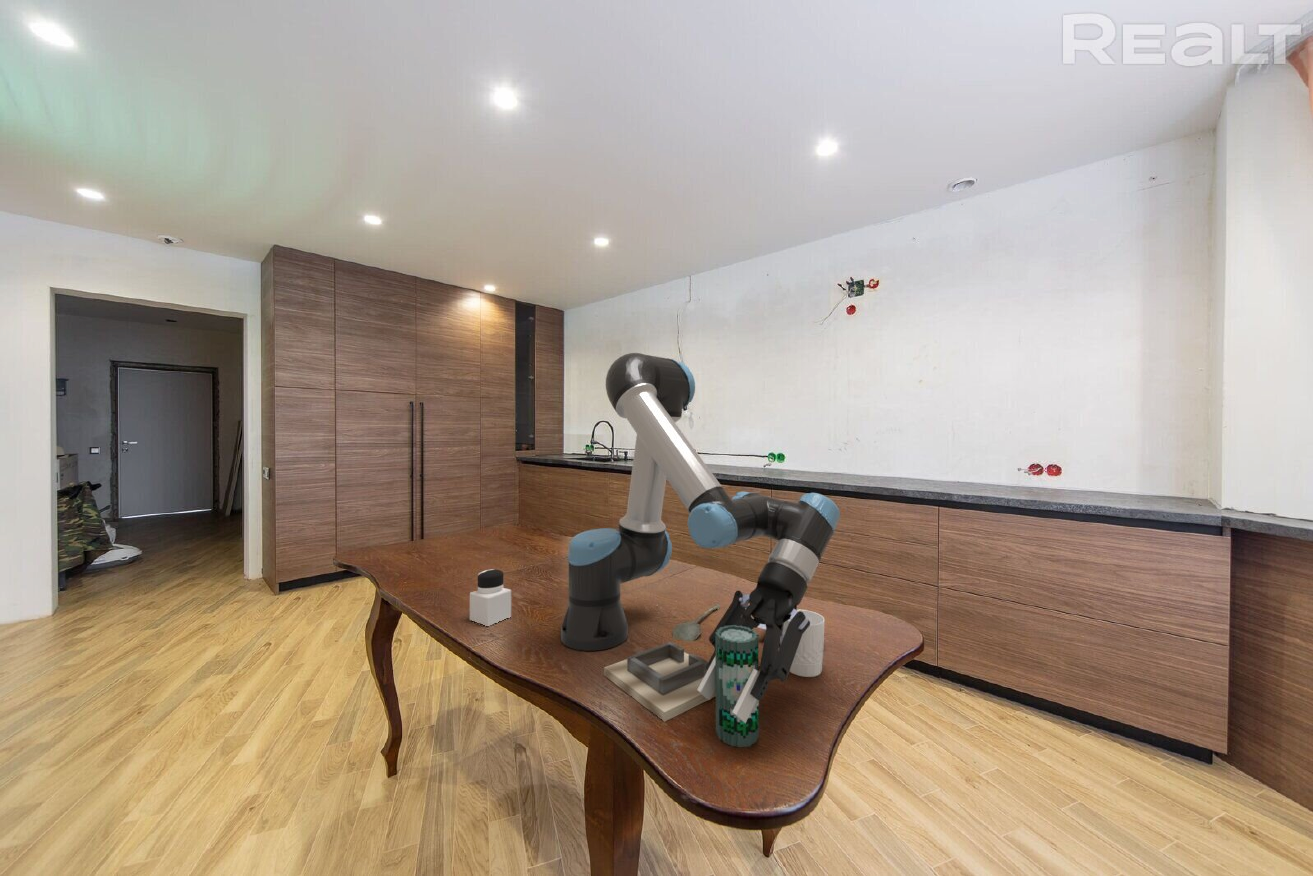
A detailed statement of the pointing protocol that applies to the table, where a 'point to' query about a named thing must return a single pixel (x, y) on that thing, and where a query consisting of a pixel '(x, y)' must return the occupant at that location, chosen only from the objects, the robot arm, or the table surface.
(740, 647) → the can
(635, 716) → the table surface
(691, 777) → the table surface
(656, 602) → the table surface
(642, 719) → the table surface
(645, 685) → the board with grey rim
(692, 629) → the soupspoon
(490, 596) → the medicine bottle
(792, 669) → the white cup
